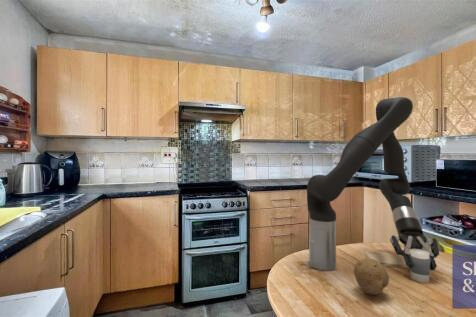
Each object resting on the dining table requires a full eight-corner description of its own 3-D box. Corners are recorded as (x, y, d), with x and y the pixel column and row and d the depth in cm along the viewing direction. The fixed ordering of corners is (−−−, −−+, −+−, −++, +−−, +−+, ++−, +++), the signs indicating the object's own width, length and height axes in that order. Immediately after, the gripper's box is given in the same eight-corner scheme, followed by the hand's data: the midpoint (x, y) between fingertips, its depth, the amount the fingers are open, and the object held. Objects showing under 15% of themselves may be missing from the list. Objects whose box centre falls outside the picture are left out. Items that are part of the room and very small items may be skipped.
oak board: (372, 264, 91) (372, 262, 91) (364, 253, 102) (364, 251, 102) (434, 270, 86) (434, 267, 86) (419, 258, 97) (419, 255, 97)
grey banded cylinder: (413, 282, 78) (413, 254, 78) (406, 273, 84) (406, 247, 84) (434, 284, 77) (434, 255, 77) (425, 275, 83) (425, 249, 83)
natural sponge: (368, 282, 78) (368, 251, 78) (396, 297, 70) (396, 262, 70) (347, 288, 74) (347, 256, 74) (373, 305, 66) (373, 268, 66)
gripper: (387, 215, 89) (400, 261, 78) (432, 217, 86) (454, 266, 74) (382, 225, 95) (394, 270, 83) (425, 228, 91) (443, 275, 80)
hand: (422, 268), depth 79 cm, fingers closed on grey banded cylinder, 5 cm apart
